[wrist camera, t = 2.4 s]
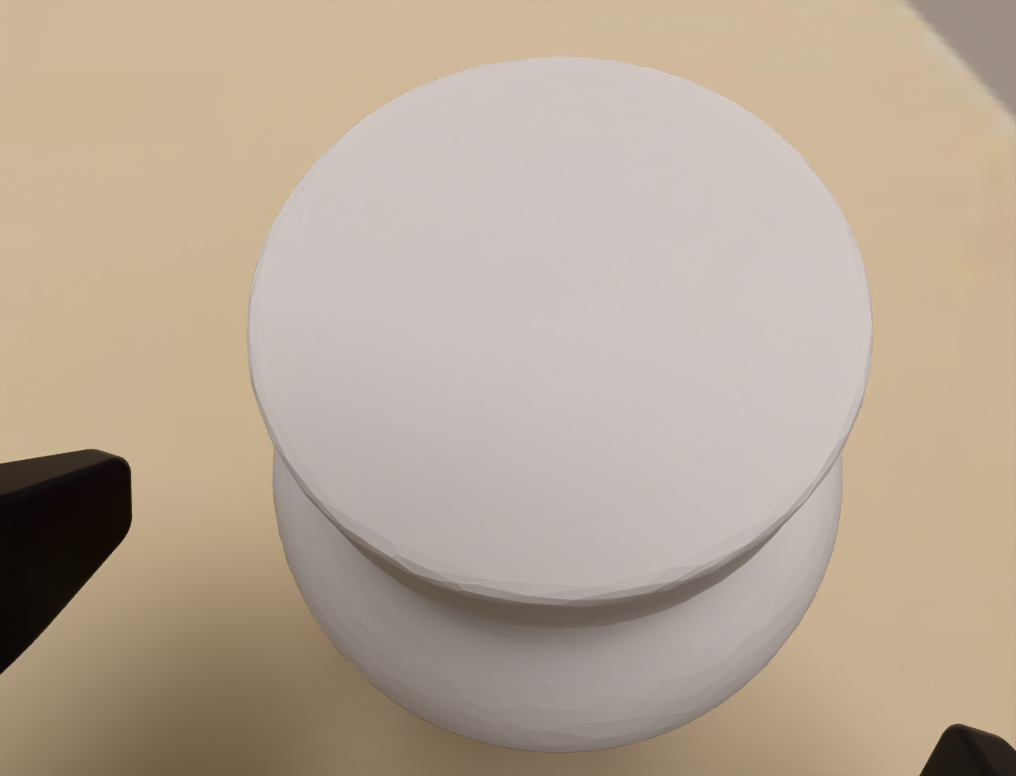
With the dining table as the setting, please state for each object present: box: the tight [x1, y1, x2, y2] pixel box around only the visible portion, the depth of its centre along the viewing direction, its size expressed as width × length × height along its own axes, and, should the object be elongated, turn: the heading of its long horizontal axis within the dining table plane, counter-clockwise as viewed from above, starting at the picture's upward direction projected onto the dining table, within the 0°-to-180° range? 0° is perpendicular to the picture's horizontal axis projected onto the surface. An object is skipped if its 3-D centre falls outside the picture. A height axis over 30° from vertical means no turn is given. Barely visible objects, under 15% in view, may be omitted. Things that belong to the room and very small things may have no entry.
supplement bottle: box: [247, 57, 872, 753], centre depth 11 cm, size 7×7×13 cm
